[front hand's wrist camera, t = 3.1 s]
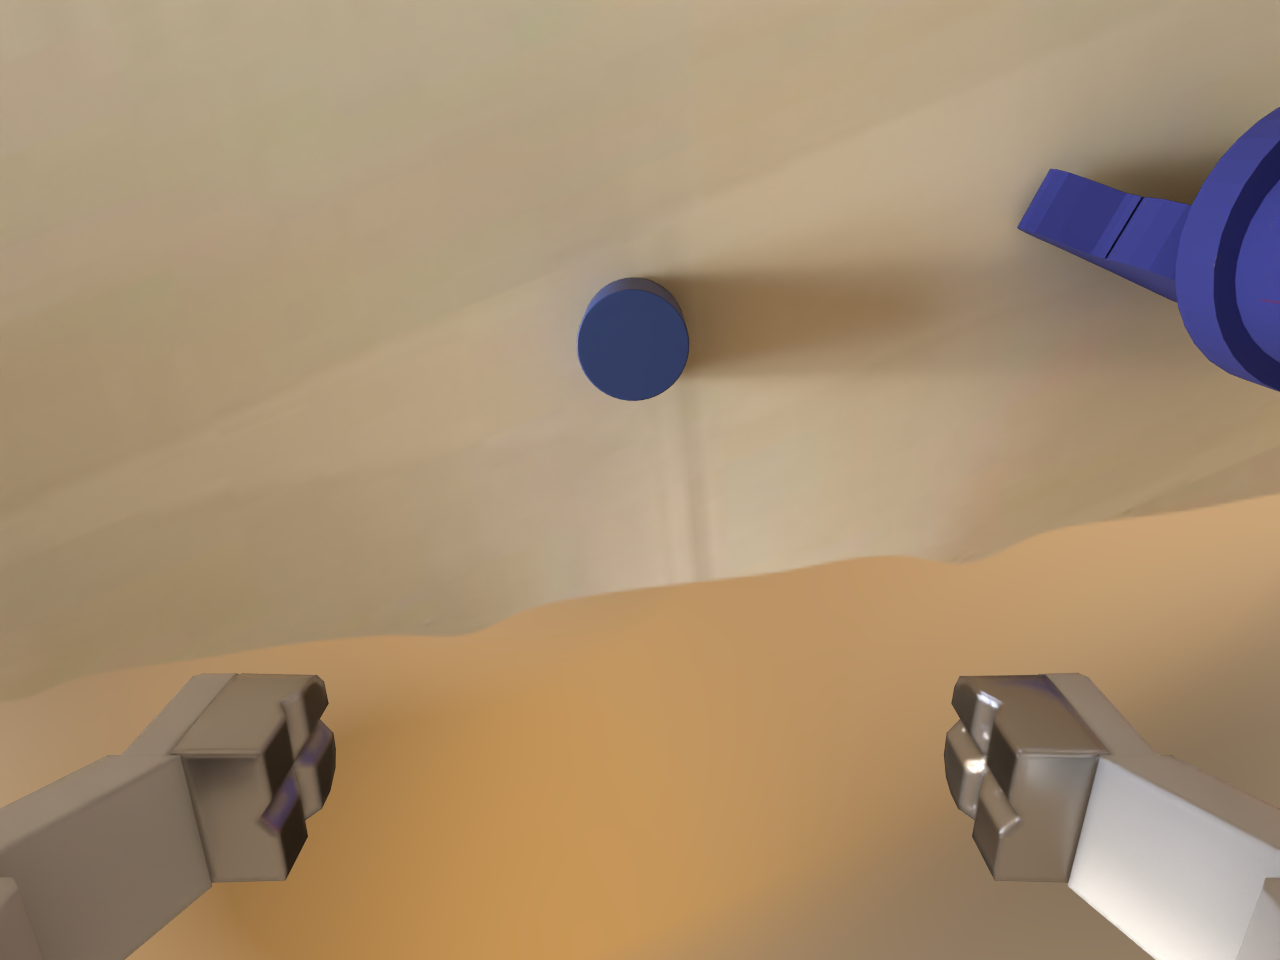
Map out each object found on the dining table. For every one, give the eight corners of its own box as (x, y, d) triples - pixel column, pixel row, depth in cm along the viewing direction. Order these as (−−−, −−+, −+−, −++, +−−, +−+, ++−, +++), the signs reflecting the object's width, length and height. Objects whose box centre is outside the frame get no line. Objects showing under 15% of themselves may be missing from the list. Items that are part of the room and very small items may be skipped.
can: (659, 260, 37) (662, 269, 33) (699, 354, 39) (706, 374, 35) (565, 303, 38) (557, 318, 34) (609, 394, 39) (605, 418, 35)
